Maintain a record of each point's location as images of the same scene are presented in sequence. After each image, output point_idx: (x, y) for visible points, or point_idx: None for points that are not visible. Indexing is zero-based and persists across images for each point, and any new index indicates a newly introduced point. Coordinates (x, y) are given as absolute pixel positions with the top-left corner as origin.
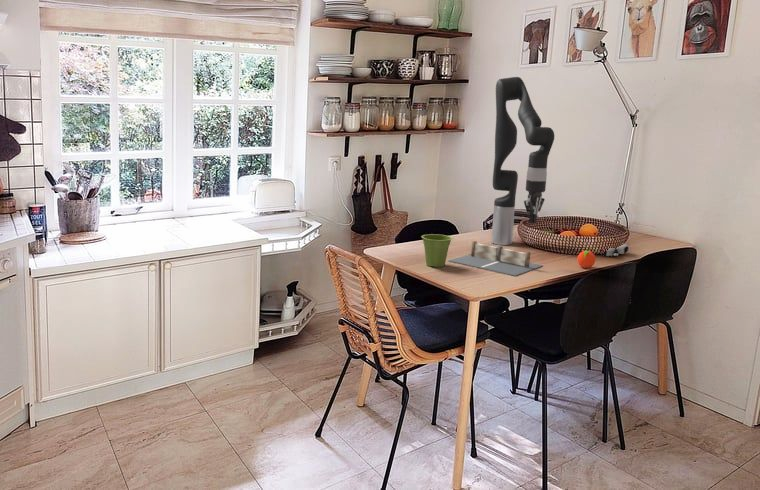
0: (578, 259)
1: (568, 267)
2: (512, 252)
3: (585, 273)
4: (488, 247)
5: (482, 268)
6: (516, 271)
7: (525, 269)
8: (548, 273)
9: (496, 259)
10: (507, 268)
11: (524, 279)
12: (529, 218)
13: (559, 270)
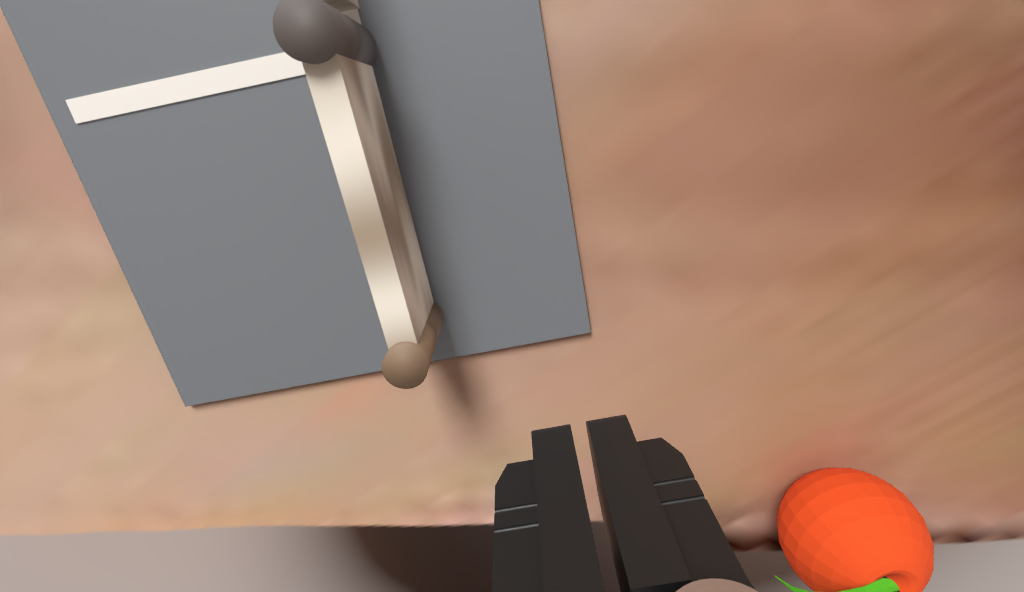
0: (797, 512)
1: (724, 435)
2: (351, 207)
3: None
4: None
5: (63, 135)
6: (265, 348)
7: (371, 345)
8: (463, 460)
9: (351, 7)
10: (260, 256)
11: (202, 472)
12: (495, 523)
13: None
